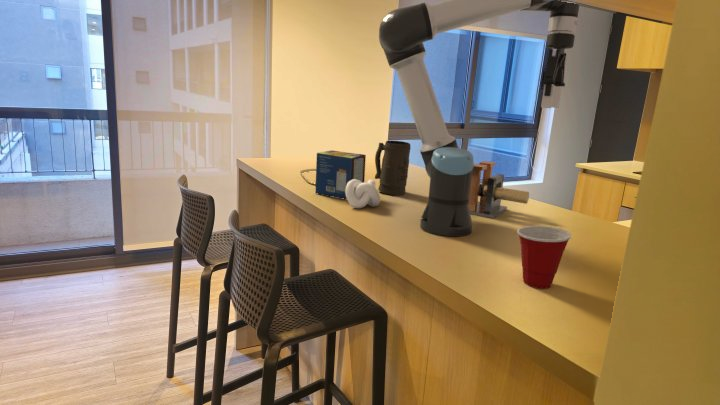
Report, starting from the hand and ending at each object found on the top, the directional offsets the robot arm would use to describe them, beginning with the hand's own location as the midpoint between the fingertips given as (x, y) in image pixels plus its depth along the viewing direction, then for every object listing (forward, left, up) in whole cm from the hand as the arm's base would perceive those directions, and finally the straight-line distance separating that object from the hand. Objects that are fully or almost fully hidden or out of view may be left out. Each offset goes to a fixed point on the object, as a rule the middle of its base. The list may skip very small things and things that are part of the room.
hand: (550, 107), depth 140 cm
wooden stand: (+4, +20, -36) cm, 41 cm away
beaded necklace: (+9, +90, -37) cm, 98 cm away
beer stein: (+6, +57, -37) cm, 68 cm away
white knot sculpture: (-21, +53, -37) cm, 67 cm away
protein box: (-12, +68, -37) cm, 78 cm away
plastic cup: (-51, -11, -37) cm, 64 cm away
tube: (+4, +15, -32) cm, 35 cm away
